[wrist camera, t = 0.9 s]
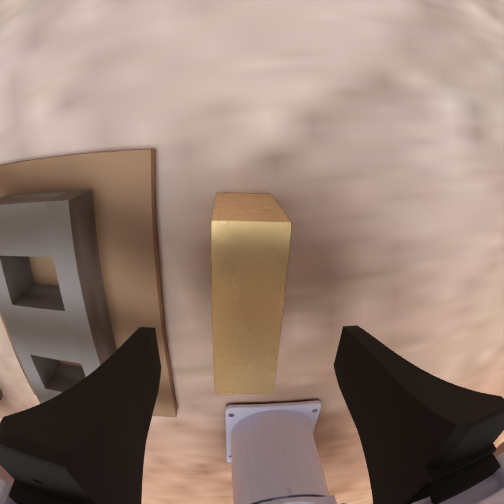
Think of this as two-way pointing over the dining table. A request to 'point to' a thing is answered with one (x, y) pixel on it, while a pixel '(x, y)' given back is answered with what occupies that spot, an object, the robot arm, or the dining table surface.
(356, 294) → the dining table surface
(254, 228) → the pine wood offcut
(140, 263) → the rail board
